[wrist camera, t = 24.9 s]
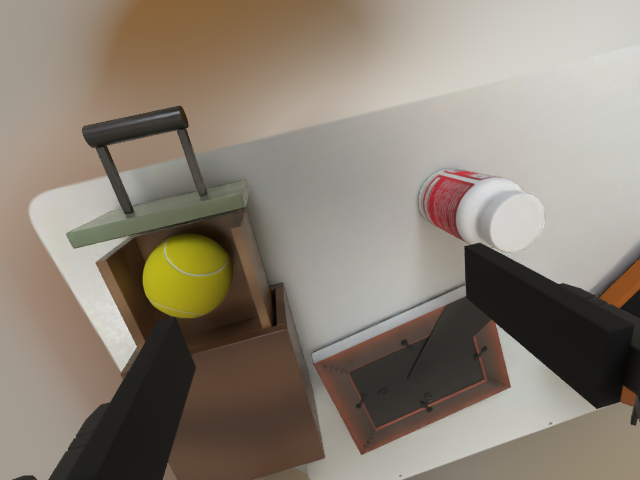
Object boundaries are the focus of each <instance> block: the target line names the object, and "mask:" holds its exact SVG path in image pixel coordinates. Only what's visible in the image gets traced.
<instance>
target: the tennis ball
mask: <svg viewBox="0 0 640 480" xmlns="http://www.w3.org/2000/svg"><path fill="white" fill-rule="evenodd" d="M232 277H233V268H232V262H231V259H230V256H229V255H228V253H227V252H226V250H225V249H224V248H223V247H222V246H221V245H220V244H218V243H217V242H216V241H214V240H212V239H210V238H208V237H205V236H202V235H198V234H179V235H174V236H171V237H169V238H167V239H165V240H164V241H162V242H161V243H160V244H159V245H158V246H157V247H156V248H155V249H154V250H153V251H152V253H151V254H150V256H149V257H148V259H147V261H146V264H145V267H144V271H143V287H144V291H145V294H146V296H147V298H148V299H149V301H150V302H151V304H152V305H153V306H154V307H156V308H157V309H158V310H160V311H162V312H164V313H166V314H168V315H171V316H174V317H180V318H195V317H200V316H203V315H205V314H207V313H209V312H211V311H212V310H214V309H215V308H216V307H217V306H218V305H219V304H220V303H221V302H222V301H223V300H224V298H225V297H226V295H227V293H228V291H229V289H230V286H231V283H232Z"/></svg>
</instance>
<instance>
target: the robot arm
mask: <svg viewBox="0 0 640 480" xmlns="http://www.w3.org/2000/svg"><path fill="white" fill-rule="evenodd" d="M464 249H465V281H466V298H467V299H468V300H469V301H470V302H471V303H473V304H474V305H475V306H476V307H477V308H479V309H480V310H481V311H482V312H483V313H484V314H486V315H487V316H488V317H489V318H490V319H492V320H493V321H494V322H495V323H496V324H497V325H499V326H500V327H501V328H502V329H503V330H504V331H506V332H507V333H508V334H509V335H510V336H512V337H513V338H514V339H515V340H516V341H517V342H519V343H520V344H521V345H522V346H523V347H525V348H526V349H527V350H528V351H529V352H530V353H532V354H533V355H534V356H535V357H536V358H537V359H539V360H540V361H541V362H542V363H543V364H545V365H546V366H547V367H548V368H549V369H550V370H552V371H553V372H554V373H555V374H556V375H557V376H559V377H560V378H561V379H562V380H563V381H565V382H566V383H567V384H568V385H569V386H570V387H572V388H573V389H574V390H575V391H576V392H578V393H579V394H580V395H581V396H582V397H583V398H585V399H586V400H587V401H588V402H589V403H590V404H592V405H593V406H594V407H595V408H596V409H598V408H601V407H605V406H608V405H612V404H615V403H618V402H620V400H621V395H622V390H623V386H625V387H626V388H627V389H629V390H630V391H632V392H633V393H634V394H636V396H635V401H634V406H633V411H632V415H631V425H636V423H637V419H639V421H640V318H638V317H636V316H634V315H632V314H630V313H628V312H626V311H624V310H622V309H620V308H618V307H616V306H614V305H612V304H608V303H607V302H606V301H604V300H602V299H600V298H598V297H597V298H596V297H595V295H593V294H591V293H589V292H587V291H585V290H583V289H581V288H577V287H574V286H571V285H567V284H564V283H562V284H557V283H555V282H553V281H551V280H550V279H548V278H546V277H544V276H542V275H540V274H538V273H536V272H535V271H533V270H531V269H529V268H527V267H525V266H523V265H521V264H520V263H518V262H516V261H514V260H512V259H510V258H508V257H506V256H505V255H503V254H501V253H499V252H497V251H495V250H493V249H491V248H489V247H488V246H486V245H484V244H482V243H476V244H472V245H468V246H464ZM195 370H196V366H195V363H194V361H193V358H192V356H191V353H190V351H189V349H188V346H187V344H186V341H185V339H184V336H183V334H182V331H181V329H180V327H179V324H178V322H177V319H176V317H172V318H168V319H164V320H160V321H157V322H156V324H155V326H154V328H153V329H152V331H151V333H150V335H149V336H148V338H147V340H146V342H145V343H144V345H143V347H142V348H141V350H140V352H139V354H138V355H137V357H136V359H135V361H134V362H133V364H132V366H131V368H130V369H129V371H128V373H127V374H126V376H125V378H124V380H123V381H122V383H121V385H120V387H119V388H118V390H117V392H116V394H115V395H114V397H113V399H112V401H111V402H110V403H106V404H102V405H100V406H99V407H98V408H97V409H96V410H95V411H94V412H93V413H92V414H91V415H90V416H89V417H88V418H87V419H86V420H85V422H84V424H83V425H82V427H81V428H80V430H79V432H78V433H77V435H76V438H74V440H73V441H72V443H71V444H70V446H69V448H68V451H67V452H65V454H64V455H63V457H62V459H61V460H60V462H59V464H58V465H57V467H56V468H55V470H54V471H53V473H52V475H51V476H50V478H49V480H163V476H164V473H165V469H166V466H167V463H168V460H169V456H170V453H171V450H172V446H173V443H174V440H175V436H176V433H177V430H178V426H179V423H180V420H181V417H182V413H183V410H184V407H185V403H186V400H187V397H188V393H189V390H190V387H191V383H192V380H193V377H194V373H195ZM13 480H37V479H36V478H35V477H34V476H22V477H19V478H16V479H13Z"/></svg>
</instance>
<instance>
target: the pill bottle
mask: <svg viewBox="0 0 640 480" xmlns="http://www.w3.org/2000/svg"><path fill="white" fill-rule="evenodd" d="M419 208H420V211H421V213H422V215H423V216H424V218H425V219H426V220H427V221H429V222H430V223H432V224H434V225H435V226H437V227H439V228H441V229H443V230H445V231H446V232H448V233H450V234H452V235H454V236H455V237H457V238H459V239H461V240H463V241H465V242H467V243H468V244H470V245H472V244H476V243H482V244H484V245H486V246H488V247H489V248H493V247H494V248H497V249H499V250H501V251H504V252H517V251H520V250H523V249H525V248H526V247H528V246H529V245H531V244H532V243H533V242H534V241H535V240H536V239H537V237H538V236H539V234H540V233H541V231H542V229H543V226H544V222H545V209H544V206H543V204H542V202H541V201H540V200H539V199H538V198H537V197H535V196H534V195H531V194H528V193H524V192H523V191H522V189H521V188H520V187H519V186H518V185H517V184H516V183H514V182H513V181H511V180H508V179H505V178H501V177H495V176H490V175H485V174H479V173H474V172H469V171H464V170H458V169H443V170H440V171H438V172H436V173H434V174H433V175H431V176H430V177H429V178H428V179H427V180H426V182H425V183H424V184H423V186H422V188H421V190H420V194H419Z"/></svg>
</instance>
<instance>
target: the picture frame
mask: <svg viewBox="0 0 640 480" xmlns="http://www.w3.org/2000/svg"><path fill="white" fill-rule="evenodd" d="M312 359H313V364H314V366H315V368H316V370H317V372H318V373H319V375H320V377H321V379H322V381H323V383H324V385H325V387H326V389H327V391H328V392H329V394H330V396H331V398H332V400H333V402H334V404H335V406H336V408H337V410H338V411H339V413H340V415H341V417H342V419H343V421H344V423H345V425H346V427H347V428H348V430H349V432H350V434H351V436H352V438H353V440H354V442H355V444H356V446H357V447H358V449H359V451H360V453H361V455H362V454H365V453H367V452H369V451H371V450H374V449H376V448H378V447H380V446H382V445H385V444H387V443H389V442H391V441H393V440H396V439H398V438H400V437H402V436H404V435H407V434H409V433H411V432H413V431H415V430H418V429H420V428H422V427H424V426H426V425H429V424H431V423H433V422H435V421H437V420H440V419H442V418H444V417H446V416H448V415H451V414H453V413H455V412H457V411H459V410H462V409H464V408H466V407H468V406H470V405H473V404H475V403H477V402H479V401H481V400H484V399H486V398H488V397H490V396H492V395H495V394H497V393H499V392H501V391H503V390H506V389H508V388H510V387H511V386H510V382H509V378H508V374H507V369H506V365H505V361H504V357H503V353H502V349H501V344H500V340H499V336H498V332H497V328H496V324H495V322H494V321H493V320H492V319H490V318H489V317H488V316H487V315H486V314H484V313H483V312H482V311H481V310H480V309H479V308H477V307H476V306H475V305H474V304H473V303H471V302H470V301H469V300H468V299H467V298H466V285H464V286H462V287H460V288H458V289H455V290H453V291H451V292H449V293H446V294H444V295H442V296H440V297H437V298H435V299H433V300H431V301H428V302H426V303H424V304H422V305H419V306H417V307H415V308H413V309H411V310H408V311H406V312H404V313H402V314H399V315H397V316H395V317H393V318H390V319H388V320H386V321H384V322H381V323H379V324H377V325H375V326H372V327H370V328H368V329H366V330H364V331H361V332H359V333H357V334H355V335H352V336H350V337H348V338H346V339H343V340H341V341H339V342H337V343H334V344H332V345H330V346H328V347H325V348H323V349H321V350H319V351H316V352H314V353H312Z"/></svg>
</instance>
